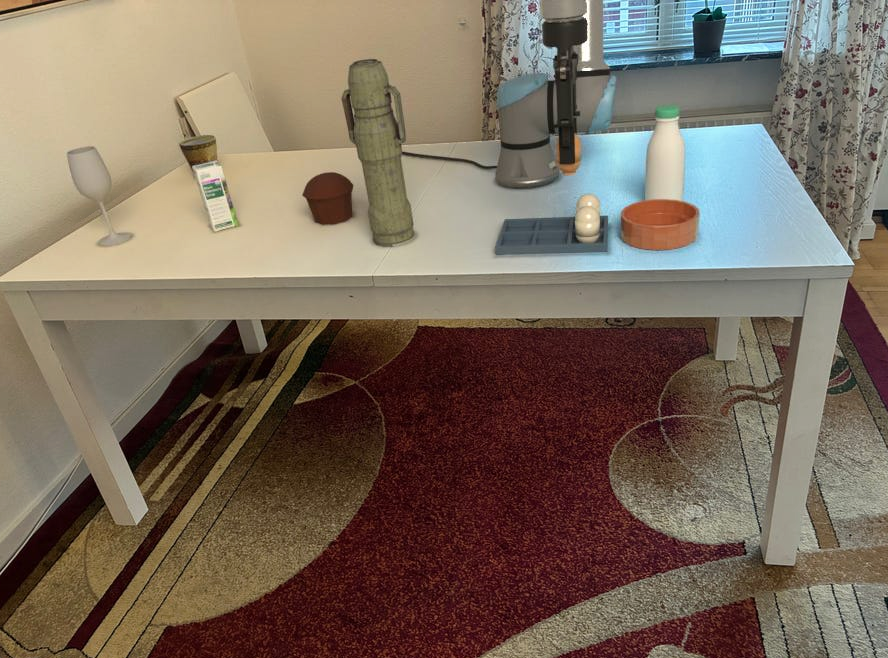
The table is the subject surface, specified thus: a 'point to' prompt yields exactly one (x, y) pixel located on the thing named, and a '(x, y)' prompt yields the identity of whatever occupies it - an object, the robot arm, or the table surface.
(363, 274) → the table surface
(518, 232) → the egg tray
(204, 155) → the ceramic cup
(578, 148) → the brown egg
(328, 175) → the muffin
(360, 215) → the table surface
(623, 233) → the bowl
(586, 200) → the cream egg
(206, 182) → the syrup box
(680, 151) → the milk bottle
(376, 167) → the thermos
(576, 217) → the cream egg
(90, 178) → the wineglass
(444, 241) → the table surface
